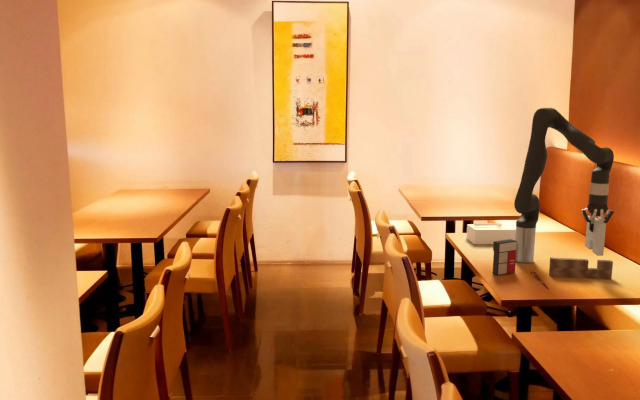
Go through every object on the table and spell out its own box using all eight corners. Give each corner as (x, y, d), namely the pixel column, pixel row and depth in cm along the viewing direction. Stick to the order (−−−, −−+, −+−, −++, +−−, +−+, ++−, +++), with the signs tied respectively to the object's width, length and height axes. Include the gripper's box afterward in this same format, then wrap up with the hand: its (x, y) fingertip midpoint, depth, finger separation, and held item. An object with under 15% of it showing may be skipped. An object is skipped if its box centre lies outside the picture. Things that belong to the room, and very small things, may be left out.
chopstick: (546, 290, 247) (546, 288, 247) (530, 273, 271) (530, 271, 270) (551, 290, 247) (551, 288, 247) (535, 273, 270) (535, 271, 270)
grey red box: (498, 275, 265) (500, 243, 263) (491, 273, 269) (493, 241, 267) (516, 272, 270) (518, 241, 268) (509, 270, 274) (511, 239, 272)
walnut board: (550, 276, 266) (551, 258, 264) (548, 274, 268) (550, 257, 267) (611, 279, 262) (613, 261, 260) (609, 277, 264) (611, 260, 263)
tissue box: (519, 244, 325) (520, 225, 323) (474, 245, 323) (475, 225, 322) (509, 238, 339) (510, 220, 337) (466, 239, 338) (467, 220, 336)
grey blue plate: (603, 255, 253) (606, 223, 251) (597, 255, 254) (599, 223, 251) (590, 245, 271) (593, 216, 268) (584, 245, 271) (587, 215, 269)
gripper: (584, 194, 255) (581, 233, 258) (618, 195, 253) (615, 234, 256) (579, 191, 263) (576, 229, 265) (612, 192, 261) (609, 230, 263)
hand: (595, 231), depth 261 cm, fingers closed on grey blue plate, 2 cm apart
